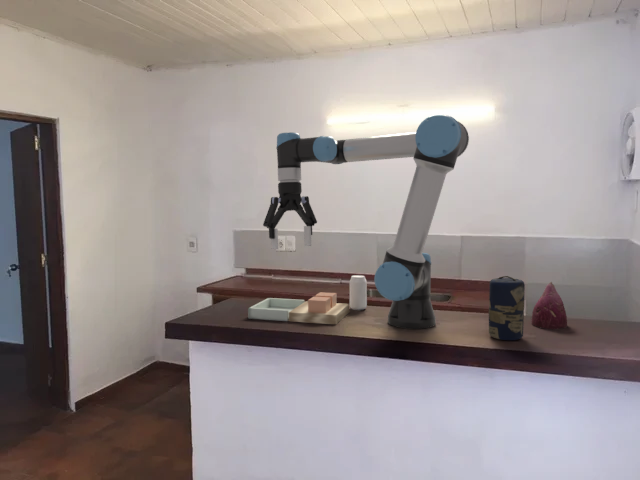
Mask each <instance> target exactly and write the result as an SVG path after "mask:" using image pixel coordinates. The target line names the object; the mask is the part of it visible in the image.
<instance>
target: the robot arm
mask: <svg viewBox="0 0 640 480" xmlns="http://www.w3.org/2000/svg"><path fill="white" fill-rule="evenodd" d="M469 142H470V136H469V132H468V129H467V128H466V126H465V125H464V124H463V123H461V122H460V121H458V120H457V119H455V118H454V117H452V116H451V115H450V116H449V115H447V114H439V113H438V114H433V115H432V114H431V115H430V116H428V117H426V118H424V119H423V121H421V123H420V124H419V125H418V127H417V129H416V131H415V132H405V133H396V134H386V135H377V136H367V137H359V138H358V137H356V138H348V139H339V140H338V139H337V140H336V139H334V137H333V136H324V135H320V136H318V137H317V136H315V137H306V138H301V136H300V134H299V133H298V132H281V133H279V134H278V135H277V137H276V158H277V159H276V160H277V181H278V184H277V189H278V190H277V192H278V195H279V196H272V197H271V198H270V204H269V207H268V210H267V211H266V215H265V218H264V220H263V223H262V226H263V227H265V228H267V229H268V235H269V236H268V238H269V239H270V245H271V250H279V233H278V231H279V230H278V229H279V228H276V227H277V225H278V224H279V222H280V220H281V219H282V218H283V216H284V215H285V213H286V212H287V211H288V212H289V211H290V212H291V211H294V212H296V213H297V215H298V216H299V217H300V219H301V220H302V222H303V223H304V226H303V236H304V237H303V238H304V239H303V244H304V247H305V246H306V247H307V246H308V247H312V236H313V227H314V226H315V224H317V223H318V220H317V218H316V215H315V213H314V210H313V207H312V205H311V204H310V198H309V196H306V195H305V196H304V195H303V196H301V194H302V191H303V189H302V183H301V181H302V165H301V164H302V163H313V162H314V163H316V162H318V163H325V164H326V163H327V164H332V165H340V164H344V163H345V164H346V163H354V162H355V163H356V162H366V161H368V162H370V161H379V160H390V159H406V158H412V159H413V161H414V163H415V166H416V167H415V171H414V174H413V177H412V180H411V184H410V187H409V192H408V195H407V198H406V201H405V204H404V208H403V211H402V216H401V218H400V223H399V226H398V229H397V231H396V236H395V239H394V242H393V245H391V246H390V247H388V248H387V249H386V251H385V255H384V258H383V261H382V263H381V264H379V266H378V268H377V270H376V271H375V274H374V286H375V288H376V289H377V292H378V293H379V295H380V296H382V297H383V298H384V299H386V300H390V301H392V302H391V305H390V308H389V311H388V315H387V324H389V325H391V326H392V327H396V328H402V329H410V330H411V329H413V330H414V329H415V330H416V329H418V330H419V329H428V328H431V327H435V326H436V325H437V323H436V321H437V320H436V319H437V318H436V314H435V312H434V309H433V304H432V301H431V285H432V283H431V281H432V280H431V279H432V278H431V275H432V273H431V272H432V268H431V267H432V261H431V260H432V257H431V255H430V254H429V253H427V252H424V249H425V245H426V241H427V238H428V236H429V233H430V228H431V227H432V226H431V225H432V222H433V219H434V216H435V212H436V209H437V205H438V202H439V199H440V197H441V194H442V193H441V192H442V191H443V190H442V189H443V187H444V183H445V179H446V176H447V174H448V173H450V172H451V171H453V170H454V169H455V165H456V163H457V159H458V157H460V156H461V155H463V153H464V152H466V150H467V148H468V145H469ZM278 205H279V206H278Z"/></svg>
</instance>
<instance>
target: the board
mask: <svg viewBox="0 0 640 480" xmlns="http://www.w3.org/2000/svg"><path fill="white" fill-rule="evenodd" d="M349 313H350V303H341V302H338V303H337V304H336V305H335V306H334V307H333V308H331V309H330V310H329V311H328V312H327V313H316V312H308V300H307V301H304V303H302V304H301V305H299V306H298V307H296V308H295V309H293V310H292V311H290V312H289V321H288V322H295V323H309V324H323V325H337V324H338V323H339V322H341V321H342V319H344V317H346V316H347V315H348V314H349Z"/></svg>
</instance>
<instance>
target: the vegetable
mask: <svg viewBox="0 0 640 480" xmlns="http://www.w3.org/2000/svg"><path fill="white" fill-rule="evenodd" d="M567 318H568V317H567V312H566V308H565V305H564V302H563V299H562V298H561V295H560V294H559V293H558V291H557V289H556V287H555V285H554V284H553V282H552V281H550V282H549V283H548V284H546V286H545V288H544V290H543V292H542V294H541V296H540V298H539V299H538V300H537V301H536V303H535V305H534V306H533V310H532V313H531V318H530V319H531V325H532V326H534V327H536V326H537V327H536V328H540V327H541V328H540V329H545V328H546V330H562V329H566V328H567V327H568V319H567Z"/></svg>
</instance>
